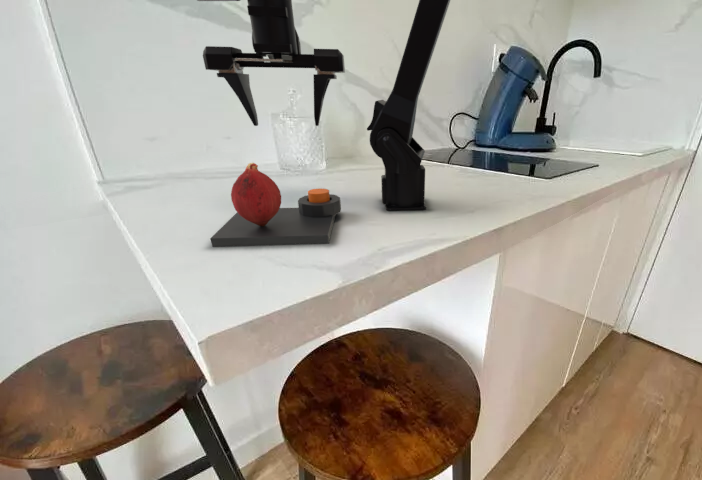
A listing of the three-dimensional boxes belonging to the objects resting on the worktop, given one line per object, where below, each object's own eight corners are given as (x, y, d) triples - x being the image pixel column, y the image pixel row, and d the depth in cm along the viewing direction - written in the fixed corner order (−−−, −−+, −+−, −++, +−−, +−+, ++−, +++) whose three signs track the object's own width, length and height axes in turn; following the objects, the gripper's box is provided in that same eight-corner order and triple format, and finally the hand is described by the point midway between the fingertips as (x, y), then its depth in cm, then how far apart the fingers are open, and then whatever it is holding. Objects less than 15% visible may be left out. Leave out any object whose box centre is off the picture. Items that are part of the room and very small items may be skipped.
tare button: (330, 198, 55) (329, 188, 54) (329, 204, 52) (328, 193, 51) (310, 198, 54) (309, 188, 54) (307, 204, 52) (306, 193, 51)
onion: (270, 235, 45) (258, 169, 41) (228, 231, 46) (212, 166, 42) (292, 220, 50) (283, 160, 46) (254, 217, 51) (242, 158, 47)
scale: (342, 212, 57) (341, 193, 56) (336, 244, 46) (334, 221, 44) (244, 214, 56) (239, 195, 54) (212, 247, 45) (206, 224, 43)
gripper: (342, 13, 57) (349, 121, 65) (217, 9, 55) (239, 121, 63) (338, -2, 48) (347, 127, 55) (187, -7, 46) (217, 127, 53)
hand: (287, 125), depth 57 cm, fingers open, 9 cm apart
